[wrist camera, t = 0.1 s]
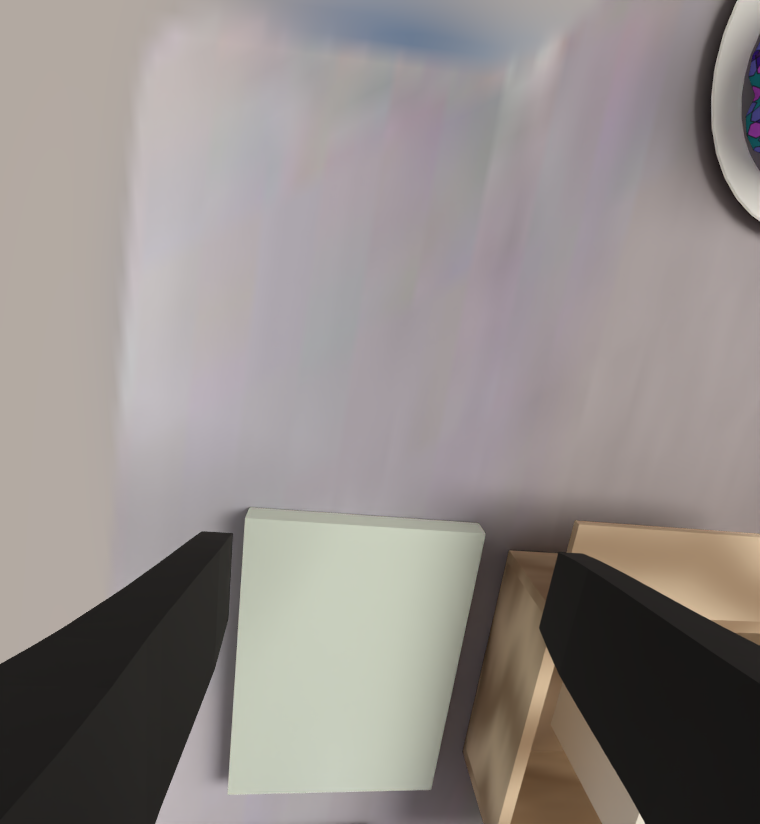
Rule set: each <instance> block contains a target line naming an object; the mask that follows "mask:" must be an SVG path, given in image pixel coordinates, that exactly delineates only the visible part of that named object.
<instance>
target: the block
mask: <svg viewBox="0 0 760 824" xmlns="http://www.w3.org/2000/svg"><path fill="white" fill-rule="evenodd" d="M550 725H551V727H552V728H553V730H554V732H555V734H556V736H557V738H558V740H559V742H560V744H561V746H562V748H563V750H564V752H565V753H566V755H567V757H568V759H569V761H570V763H571V765H572V767H573V769H574V771H575V773H576V775H577V776H578V778H579V780H580V782H581V784H582V786H583V788H584V790H585V792H586V794H587V796H588V798H589V799H590V801H591V803H592V805H593V807H594V809H595V811H596V813H597V815H598V817H599V819H600V821H601V823H602V824H645V822H644V821H643V819H642V817H641V815H640V813H639V812H638V810H637V808H636V806H635V804H634V802H633V801H632V799H631V797H630V795H629V793H628V792H627V790H626V788H625V787H624V785H623V783H622V782H621V780H620V778H619V777H618V775H617V773H616V771H615V770H614V768H613V766H612V765H611V763H610V761H609V760H608V758H607V756H606V755H605V753H604V751H603V749H602V748H601V746H600V744H599V743H598V741H597V739H596V738H595V736H594V734H593V733H592V731H591V729H590V727H589V726H588V724H587V722H586V721H585V719H584V717H583V716H582V714H581V712H580V710H579V709H578V707H577V705H576V704H575V702H574V700H573V698H572V697H571V695H570V693H569V691H568V690H567V688H566V686H565V684H564V683H562V686H561V690H560V693H559V697H558V700H557V703H556V707H555V710H554V714H553V717H552V721H551V724H550Z"/></svg>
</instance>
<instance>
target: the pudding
mask: <svg viewBox="0 0 760 824" xmlns="http://www.w3.org/2000/svg"><path fill="white" fill-rule="evenodd" d="M759 34H760V0H737V2H736V4H735V6H734V9H733V11H732V14H731V16H730V19H729V21H728V24H727V26H726V29H725V31H724V34H723V37H722V41H721V45H720V48H719V52H718V56H717V60H716V64H715V69H714V78H713V86H712V94H711V121H712V132H713V138H714V144H715V150H716V155H717V158H718V161H719V163H720V166H721V169H722V172H723V175H724V178H725V180H726V181H727V183H728V185H729V187H730V188H731V190H732V192H733V194H734V195H735V197H736V199H737V200H738V201H739V202H740V203H741V204H742V206H743V207H744V208H745V209H746V210H747V211H748V212H749V213H750V215H752V216H753V217H754V218H756V219H757V220H759V221H760V170H759V169H758V168H757V166H756V164H755V163H754V161H753V159H752V157H751V155H750V153H749V150H748V147H747V144H746V141H745V137H744V132H743V125H742V118H741V109H742V91H743V84H744V77H745V73H746V69H747V66H748V62H749V59H750V55H751V53H752V50H753V48H754V46H755V43H756V41H757V39H758V36H759ZM749 79H750V82H751V85H752V88H753V91H754V94H755V98H754V100H753V102H752V104H751V106H750V108H749V111H748V113H747V115H746V132H747V137H748V139H749V141H750V144H751V146H752V148H753V150H754V151H756V152H759V153H760V43H759V45H758V47H757V48H756V50H755V52H754V54H753V56H752V61H751V67H750V72H749Z"/></svg>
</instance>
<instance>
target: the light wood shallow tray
mask: <svg viewBox="0 0 760 824" xmlns="http://www.w3.org/2000/svg"><path fill="white" fill-rule="evenodd" d="M566 553H583V554H586V555H588V556H590V557H593V558H595V559H597V560H599V561H601V562H603V563H605V564H607V565H609V566H611V567H613V568H615V569H617V570H619V571H621V572H623V573H625V574H627V575H629V576H630V577H632V578H634V579H636V580H638V581H640V582H641V583H643V584H645V585H647V586H649V587H651V588H652V589H654V590H656V591H658V592H660V593H661V594H663V595H665V596H667V597H669V598H671V599H672V600H674V601H676V602H678V603H680V604H681V605H683V606H685V607H687V608H689V609H691V610H693V611H694V612H696V613H698V614H700V615H702V616H704V617H706V618H707V619H709V620H711V621H713V622H715V623H717V624H719V625H721V626H722V627H724V628H726V629H728V630H730V631H732V632H734V633H736V634H738V635H740V636H742V637H744V638H746V639H748V640H750V641H752V642H754V643H756V644H758V645H760V534H755V533H741V532H727V531H713V530H699V529H686V528H672V527H658V526H644V525H630V524H617V523H603V522H589V521H575V522H574V525H573V529H572V533H571V537H570V540H569V544H568V548H567V551H566ZM557 556H558V553H544V552H528V551H511V550H509V552H508V557H507V561H506V565H505V570H504V574H503V578H502V583H501V587H500V591H499V596H498V600H497V604H496V609H495V613H494V617H493V622H492V626H491V630H490V635H489V639H488V643H487V648H486V652H485V656H484V661H483V665H482V669H481V674H480V678H479V682H478V687H477V691H476V695H475V700H474V704H473V708H472V713H471V717H470V721H469V726H468V730H467V734H466V739H465V743H464V747H463V755H464V758H465V762H466V765H467V769H468V772H469V775H470V779H471V782H472V786H473V789H474V793H475V796H476V799H477V803H478V806H479V810H480V813H481V817H482V820H483V824H602V823H601V821H600V819H599V817H598V815H597V813H596V811H595V809H594V807H593V805H592V803H591V801H590V799H589V798H588V796H587V794H586V792H585V790H584V788H583V786H582V784H581V782H580V780H579V778H578V776H577V775H576V773H575V771H574V769H573V767H572V765H571V763H570V761H569V759H568V757H567V755H566V753H565V752H564V750H563V748H562V746H561V744H560V742H559V740H558V738H557V736H556V734H555V732H554V730H553V728H552V727H551V725H550V724H551V721H552V717H553V714H554V710H555V707H556V703H557V700H558V697H559V693H560V690H561V686H562V683H563V681H562V679H561V677H560V676H559V674H558V671H557V669H556V667H555V665H554V663H553V660H552V658H551V656H550V654H549V652H548V649H547V647H546V644H545V642H544V639H543V637H542V635H541V632H540V630H539V625H540V622H541V618H542V614H543V610H544V606H545V602H546V598H547V594H548V591H549V587H550V583H551V579H552V575H553V571H554V567H555V563H556V560H557Z"/></svg>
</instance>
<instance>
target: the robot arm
mask: <svg viewBox="0 0 760 824" xmlns="http://www.w3.org/2000/svg"><path fill="white" fill-rule="evenodd" d="M232 540H233V533H220V532H200V533H199V534H198V535H196V536H195V537H193V538H192V539H191V540H189V541H188V542H187V543H185V544H184V545H183V546H181V547H180V548H178V549H177V550H176V551H174V552H173V553H172V554H170V555H169V556H168V557H166V558H165V559H164V560H162V561H161V562H160V563H158V564H157V565H155V566H154V567H153V568H151V569H150V570H149V571H147V572H146V573H144V574H143V575H142V576H140V577H139V578H137V579H136V580H135V581H133V582H132V583H130V584H129V585H128V586H126V587H125V588H123V589H122V590H120V591H119V592H117V593H116V594H114V595H113V596H111V597H109V598H108V599H106V600H105V601H103V602H102V603H100V604H99V605H97V606H96V607H94V608H93V609H91V610H90V611H88V612H86V613H85V614H83V615H82V616H80V617H79V618H77V619H76V620H74V621H73V622H71V623H70V624H68V625H67V626H65V627H63V628H62V629H60V630H58V631H57V632H55V633H53V634H52V635H50V636H48V637H47V638H45V639H43V640H42V641H40V642H38V643H37V644H35V645H33V646H31V647H30V648H28V649H26V650H25V651H23V652H21V653H19V654H17V655H16V656H14V657H12V658H10V659H8V660H7V661H5V662H3V663H1V664H0V824H155V822H156V820H157V817H158V814H159V811H160V808H161V806H162V803H163V801H164V798H165V796H166V793H167V790H168V788H169V785H170V783H171V780H172V778H173V775H174V773H175V770H176V767H177V765H178V762H179V760H180V757H181V755H182V752H183V750H184V747H185V744H186V742H187V739H188V737H189V734H190V732H191V729H192V727H193V724H194V721H195V719H196V716H197V714H198V711H199V709H200V706H201V703H202V701H203V698H204V696H205V693H206V691H207V688H208V685H209V683H210V680H211V677H212V675H213V672H214V669H215V666H216V662H217V659H218V655H219V652H220V648H221V644H222V641H223V637H224V633H225V629H226V625H227V622H228V615H229V596H230V577H231V558H232ZM539 630H540V632H541V635H542V637H543V639H544V642H545V644H546V647H547V649H548V652H549V654H550V656H551V658H552V660H553V663H554V665H555V667H556V669H557V671H558V674H559V676H560V677H561V679H562V681H563V683H564V684H565V686H566V688H567V690H568V691H569V693H570V695H571V697H572V698H573V700H574V702H575V704H576V705H577V707H578V709H579V710H580V712H581V714H582V716H583V717H584V719H585V721H586V722H587V724H588V726H589V727H590V729H591V731H592V733H593V734H594V736H595V738H596V739H597V741H598V743H599V744H600V746H601V748H602V749H603V751H604V753H605V755H606V756H607V758H608V760H609V761H610V763H611V765H612V766H613V768H614V770H615V771H616V773H617V775H618V777H619V778H620V780H621V782H622V783H623V785H624V787H625V788H626V790H627V792H628V793H629V795H630V797H631V799H632V801H633V802H634V804H635V806H636V808H637V810H638V812H639V813H640V815H641V817H642V819H643V821H644V822H645V824H760V645H758V644H756V643H754V642H752V641H750V640H748V639H746V638H744V637H742V636H740V635H738V634H736V633H734V632H732V631H730V630H728V629H726V628H724V627H722V626H721V625H719V624H717V623H715V622H713V621H711V620H709V619H707V618H706V617H704V616H702V615H700V614H698V613H696V612H694V611H693V610H691V609H689V608H687V607H685V606H683V605H681V604H680V603H678V602H676V601H674V600H672V599H671V598H669V597H667V596H665V595H663V594H661V593H660V592H658V591H656V590H654V589H652V588H651V587H649V586H647V585H645V584H643V583H641V582H640V581H638V580H636V579H634V578H632V577H630V576H629V575H627V574H625V573H623V572H621V571H619V570H617V569H615V568H613V567H611V566H609V565H607V564H605V563H603V562H601V561H599V560H597V559H595V558H593V557H590V556H588V555H586V554H583V553H566V552H558V556H557V560H556V563H555V567H554V571H553V575H552V579H551V583H550V587H549V591H548V594H547V598H546V602H545V606H544V610H543V614H542V618H541V622H540V625H539Z"/></svg>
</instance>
